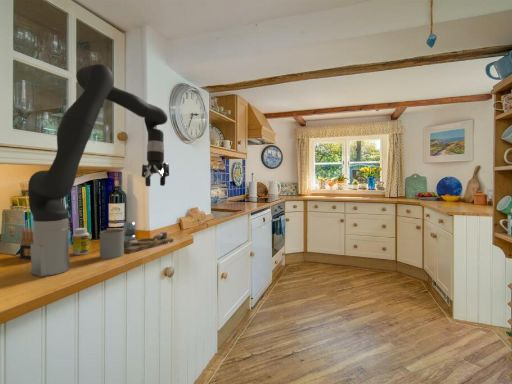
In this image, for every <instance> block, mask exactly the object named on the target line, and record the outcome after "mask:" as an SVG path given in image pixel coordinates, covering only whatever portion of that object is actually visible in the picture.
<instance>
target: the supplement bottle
mask: <svg viewBox="0 0 512 384" xmlns="http://www.w3.org/2000/svg"><path fill="white" fill-rule="evenodd" d="M89 252H90V233H89V232H88V229H87V228H86V227H79V228H75V230H74V233H73V234H72V253H73V255H75V256H79V255H80V256H81V255H86V254H88V253H89Z"/></svg>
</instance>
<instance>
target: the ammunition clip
mask: <svg viewBox="0 0 512 384" xmlns="http://www.w3.org/2000/svg"><path fill="white" fill-rule="evenodd" d="M20 238H21V239H20V240H21V244H20V247H19V248H20V249H19V252H20V254H19V255H20V256H19V257H20V259H22V260H23V259H24V260H31V244H34V235H33V227H31V226H30V228H29V227H26V228H25V226H22V229H21V237H20Z"/></svg>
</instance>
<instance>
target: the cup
mask: <svg viewBox="0 0 512 384" xmlns="http://www.w3.org/2000/svg"><path fill="white" fill-rule="evenodd" d="M123 256H125V252H124V229H121V228H115V229H114V228H113V229H111V228H110V229H104V230H100V231H99V258H100V259H103V260H112V259H118V258H121V257H123Z"/></svg>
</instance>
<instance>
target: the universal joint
mask: <svg viewBox="0 0 512 384" xmlns="http://www.w3.org/2000/svg"><path fill="white" fill-rule="evenodd" d="M123 230H124V240H128V241H135V240H136V221H127V222H126V221H125V222H123Z"/></svg>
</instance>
